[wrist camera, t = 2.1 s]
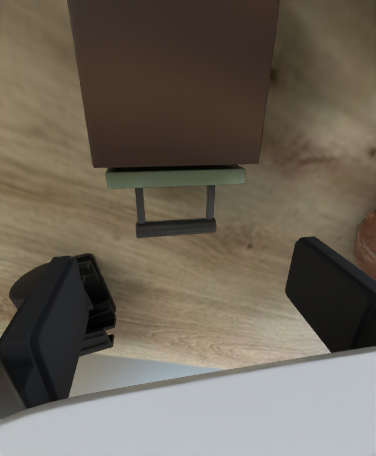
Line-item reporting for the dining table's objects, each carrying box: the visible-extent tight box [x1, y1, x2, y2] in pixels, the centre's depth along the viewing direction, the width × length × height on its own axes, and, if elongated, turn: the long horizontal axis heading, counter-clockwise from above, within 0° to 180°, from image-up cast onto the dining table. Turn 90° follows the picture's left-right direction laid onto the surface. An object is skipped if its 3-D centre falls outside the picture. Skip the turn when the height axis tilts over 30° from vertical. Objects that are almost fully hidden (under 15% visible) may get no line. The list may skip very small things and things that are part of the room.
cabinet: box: [67, 0, 280, 168], centre depth 17 cm, size 16×12×9 cm
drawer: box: [105, 164, 245, 238], centre depth 19 cm, size 19×10×7 cm, turn 179°
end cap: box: [9, 253, 116, 356], centre depth 27 cm, size 10×7×7 cm
